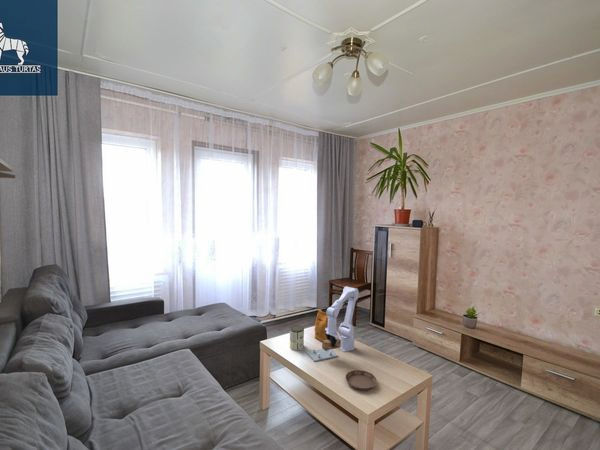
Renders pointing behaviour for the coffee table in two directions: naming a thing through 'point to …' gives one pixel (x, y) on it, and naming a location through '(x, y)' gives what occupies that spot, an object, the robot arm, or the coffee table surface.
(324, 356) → the peg board
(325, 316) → the coffee package
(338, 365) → the coffee table surface
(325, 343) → the walnut bar
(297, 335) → the coffee can
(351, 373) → the plant saucer
